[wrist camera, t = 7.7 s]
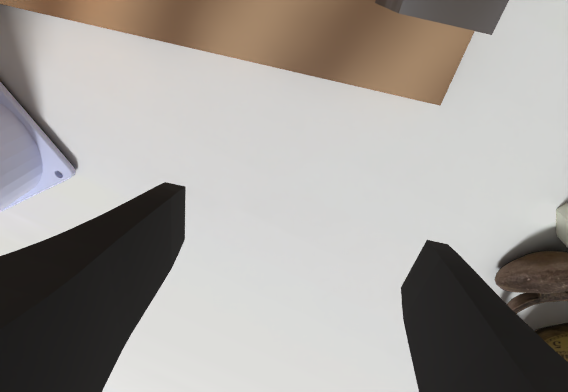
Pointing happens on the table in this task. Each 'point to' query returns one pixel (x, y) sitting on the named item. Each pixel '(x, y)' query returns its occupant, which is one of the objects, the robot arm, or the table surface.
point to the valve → (562, 223)
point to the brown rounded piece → (539, 289)
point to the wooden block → (308, 34)
